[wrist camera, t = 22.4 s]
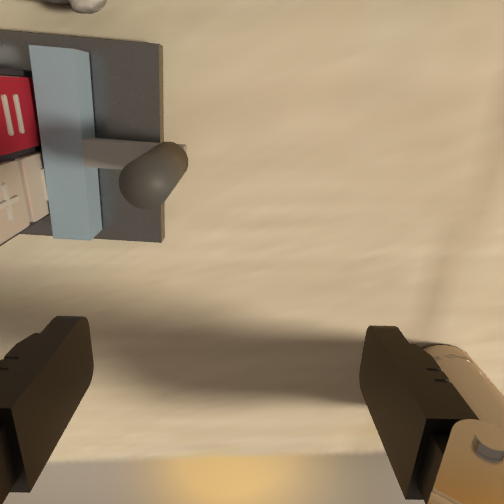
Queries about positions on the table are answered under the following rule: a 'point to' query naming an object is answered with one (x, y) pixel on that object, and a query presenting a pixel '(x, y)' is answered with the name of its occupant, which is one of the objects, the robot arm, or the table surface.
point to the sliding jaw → (90, 148)
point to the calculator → (20, 156)
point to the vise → (110, 117)
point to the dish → (82, 5)
